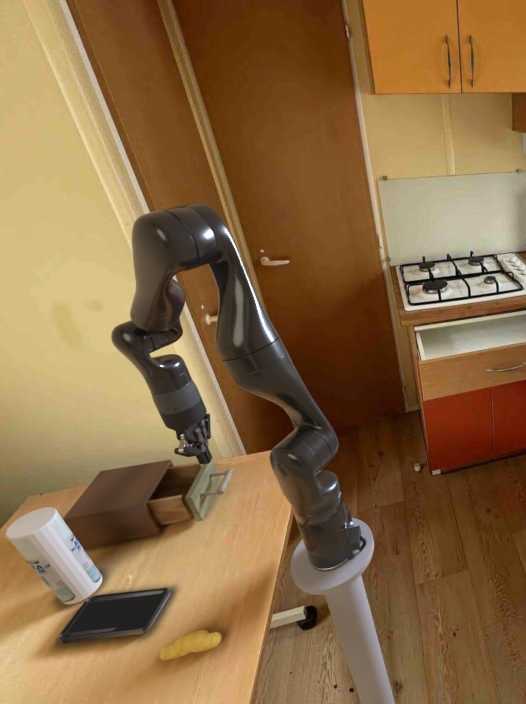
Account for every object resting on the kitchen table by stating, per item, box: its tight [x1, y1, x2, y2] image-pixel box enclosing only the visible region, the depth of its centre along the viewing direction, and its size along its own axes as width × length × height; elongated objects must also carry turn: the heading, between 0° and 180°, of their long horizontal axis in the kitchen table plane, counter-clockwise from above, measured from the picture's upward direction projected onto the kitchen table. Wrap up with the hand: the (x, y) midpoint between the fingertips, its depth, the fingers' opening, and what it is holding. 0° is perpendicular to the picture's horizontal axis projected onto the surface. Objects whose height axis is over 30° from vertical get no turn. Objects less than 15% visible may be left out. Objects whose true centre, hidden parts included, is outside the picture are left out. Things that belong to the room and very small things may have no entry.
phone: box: [58, 587, 171, 644], centre depth 80 cm, size 8×1×15 cm
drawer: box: [146, 459, 234, 526], centre depth 100 cm, size 18×12×8 cm
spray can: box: [5, 506, 103, 605], centre depth 80 cm, size 6×6×20 cm
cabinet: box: [62, 459, 175, 550], centre depth 98 cm, size 15×14×10 cm
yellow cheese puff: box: [159, 629, 222, 661], centre depth 75 cm, size 9×3×3 cm, turn 105°
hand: (206, 461), depth 97 cm, fingers closed
